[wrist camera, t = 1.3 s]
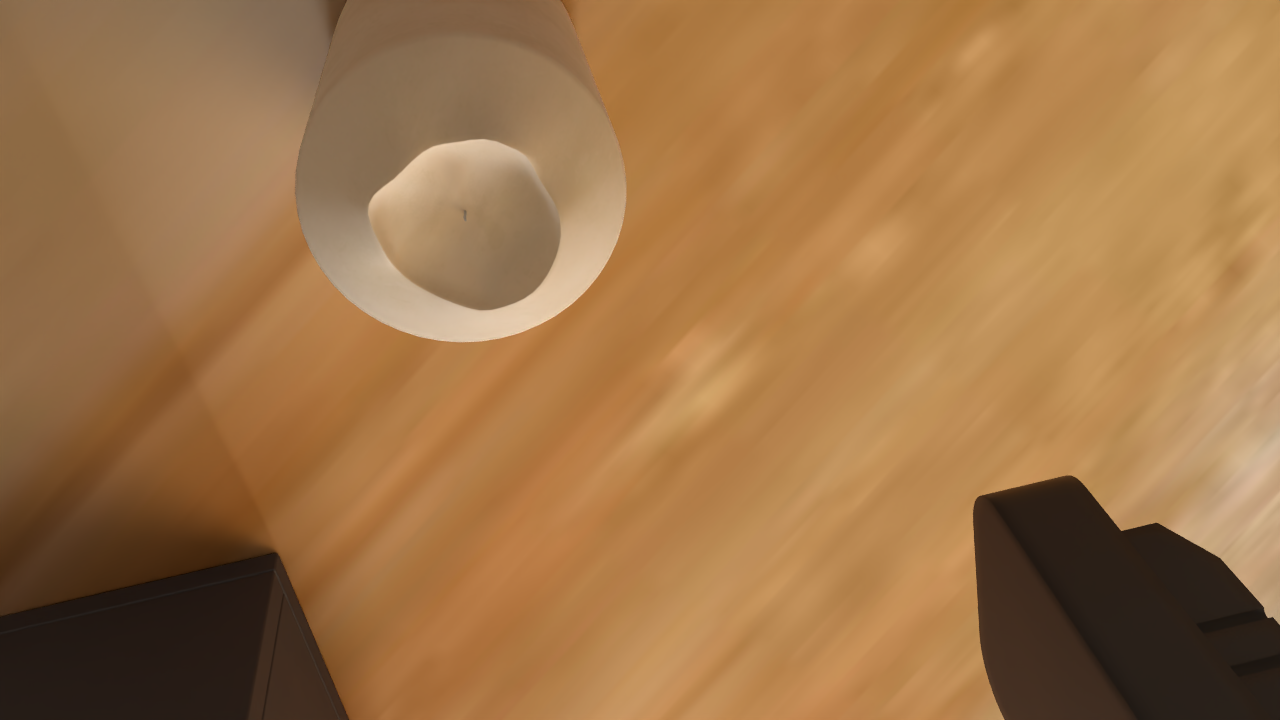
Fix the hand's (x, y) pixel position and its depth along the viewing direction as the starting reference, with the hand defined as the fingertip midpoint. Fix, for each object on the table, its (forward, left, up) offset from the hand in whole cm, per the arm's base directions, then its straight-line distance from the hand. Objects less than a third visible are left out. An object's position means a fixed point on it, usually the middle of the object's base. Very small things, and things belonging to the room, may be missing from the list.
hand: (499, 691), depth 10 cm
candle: (+1, 0, -21) cm, 21 cm away
